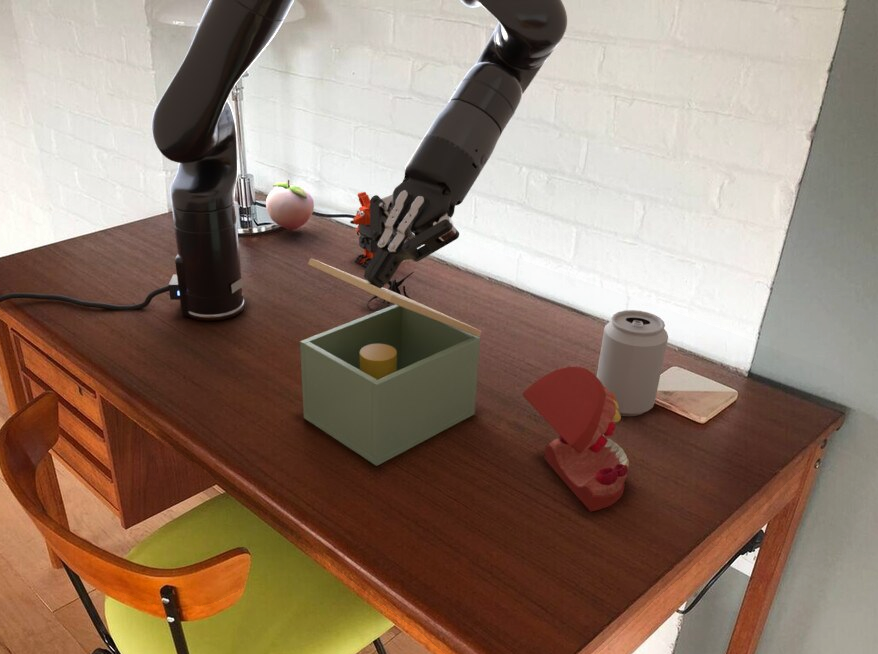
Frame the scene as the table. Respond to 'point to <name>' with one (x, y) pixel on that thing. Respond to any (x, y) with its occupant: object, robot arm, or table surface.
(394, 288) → the creature
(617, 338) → the can
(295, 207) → the decorative fruit
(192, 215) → the robot arm
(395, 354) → the round shape
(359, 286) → the lid
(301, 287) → the table surface
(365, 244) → the toy animal
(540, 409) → the anatomical model
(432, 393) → the green open box
